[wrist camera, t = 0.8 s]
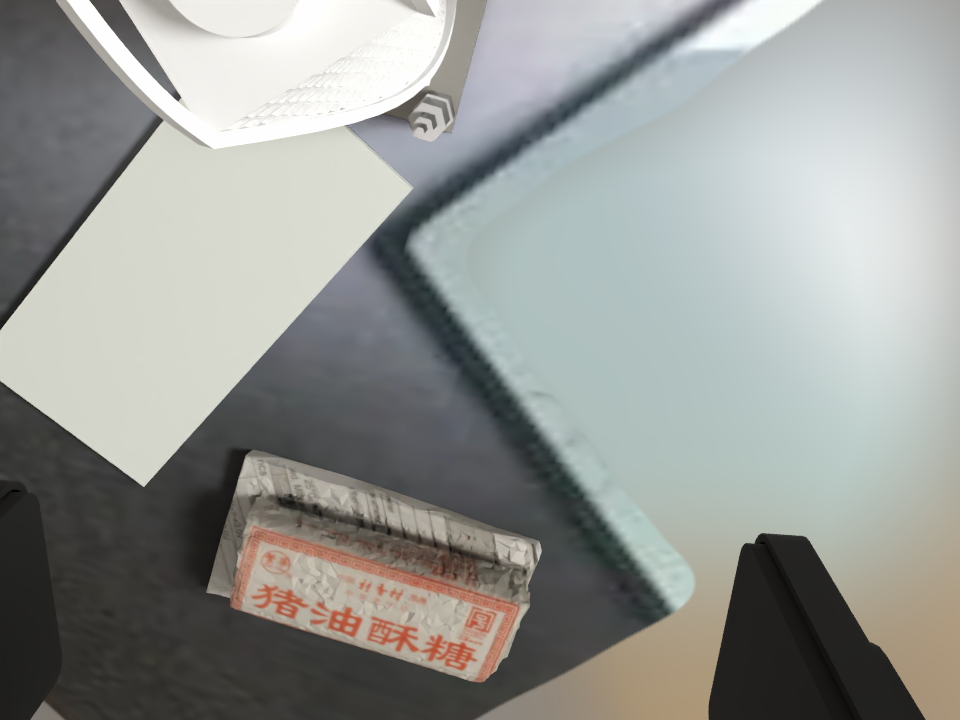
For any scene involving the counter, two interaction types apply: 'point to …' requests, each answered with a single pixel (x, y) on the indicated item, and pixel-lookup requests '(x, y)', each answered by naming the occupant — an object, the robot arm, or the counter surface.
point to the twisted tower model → (293, 63)
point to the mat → (188, 283)
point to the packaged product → (372, 567)
